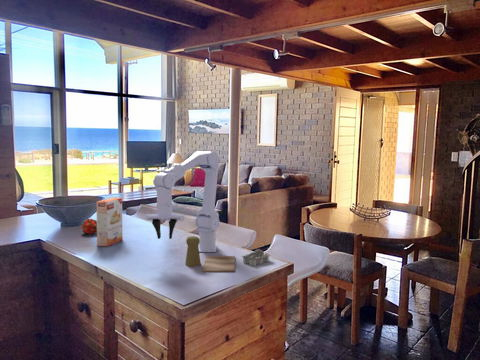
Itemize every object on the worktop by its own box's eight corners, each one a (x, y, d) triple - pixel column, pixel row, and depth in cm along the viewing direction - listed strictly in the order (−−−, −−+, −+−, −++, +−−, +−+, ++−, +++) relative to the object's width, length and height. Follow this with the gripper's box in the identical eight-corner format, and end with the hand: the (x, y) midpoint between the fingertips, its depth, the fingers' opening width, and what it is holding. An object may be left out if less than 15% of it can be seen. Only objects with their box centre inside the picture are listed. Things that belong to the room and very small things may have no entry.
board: (206, 257, 162) (206, 255, 162) (235, 257, 162) (235, 256, 162) (202, 271, 144) (202, 270, 144) (234, 272, 144) (234, 270, 144)
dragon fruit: (87, 234, 207) (97, 241, 199) (74, 227, 201) (84, 234, 193) (96, 220, 209) (107, 227, 201) (84, 213, 204) (94, 220, 195)
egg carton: (260, 257, 163) (260, 248, 163) (272, 262, 157) (272, 252, 157) (240, 262, 157) (240, 252, 156) (251, 266, 151) (251, 256, 150)
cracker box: (108, 247, 176) (107, 201, 174) (96, 246, 178) (95, 201, 175) (123, 239, 190) (122, 197, 188) (112, 238, 191) (111, 197, 189)
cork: (201, 261, 156) (201, 235, 155) (200, 266, 150) (200, 238, 149) (186, 261, 156) (186, 235, 155) (184, 266, 150) (184, 238, 149)
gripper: (143, 205, 147) (143, 240, 148) (181, 205, 147) (181, 240, 148) (147, 202, 154) (148, 236, 155) (184, 202, 154) (184, 236, 155)
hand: (164, 238), depth 152 cm, fingers open, 4 cm apart
